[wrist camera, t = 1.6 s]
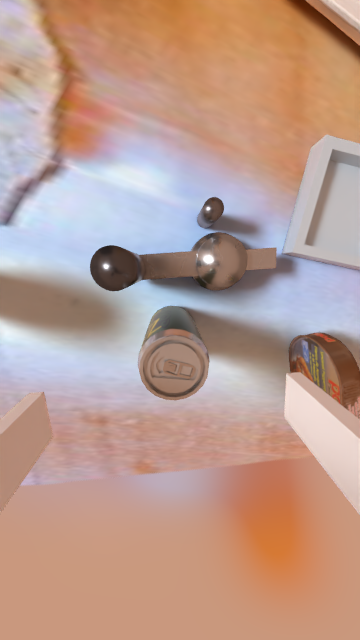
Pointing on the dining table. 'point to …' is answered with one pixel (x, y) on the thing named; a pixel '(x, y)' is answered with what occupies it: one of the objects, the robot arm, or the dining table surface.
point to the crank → (180, 264)
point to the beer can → (173, 355)
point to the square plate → (341, 15)
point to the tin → (328, 367)
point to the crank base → (206, 219)
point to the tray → (328, 206)
